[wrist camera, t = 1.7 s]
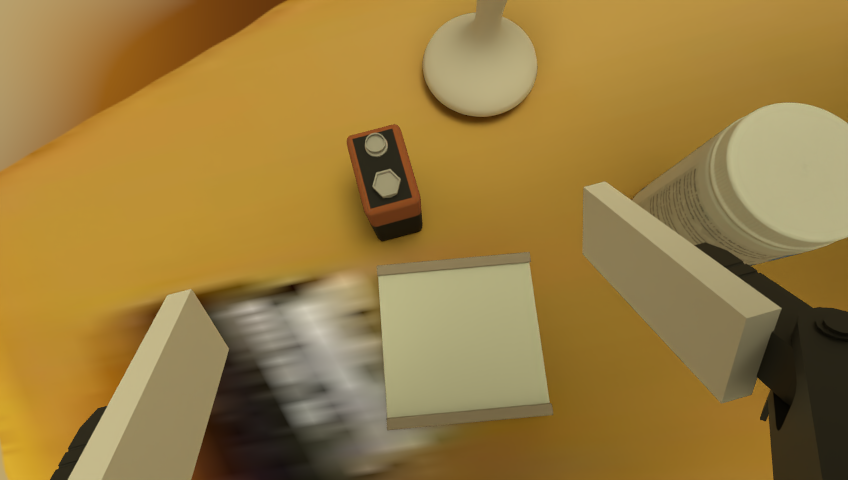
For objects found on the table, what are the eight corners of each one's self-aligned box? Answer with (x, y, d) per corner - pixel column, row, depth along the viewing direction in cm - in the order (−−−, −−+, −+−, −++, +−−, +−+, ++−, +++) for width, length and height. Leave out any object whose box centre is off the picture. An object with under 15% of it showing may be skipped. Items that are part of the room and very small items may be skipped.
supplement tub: (703, 299, 39) (864, 277, 24) (604, 252, 40) (703, 205, 25) (736, 208, 40) (904, 137, 26) (642, 166, 42) (753, 75, 27)
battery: (379, 243, 40) (363, 213, 30) (362, 178, 42) (341, 129, 32) (424, 231, 40) (421, 197, 31) (405, 166, 42) (397, 114, 32)
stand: (520, 259, 40) (529, 252, 36) (541, 407, 37) (553, 414, 33) (381, 272, 40) (376, 265, 36) (391, 421, 37) (387, 429, 33)
